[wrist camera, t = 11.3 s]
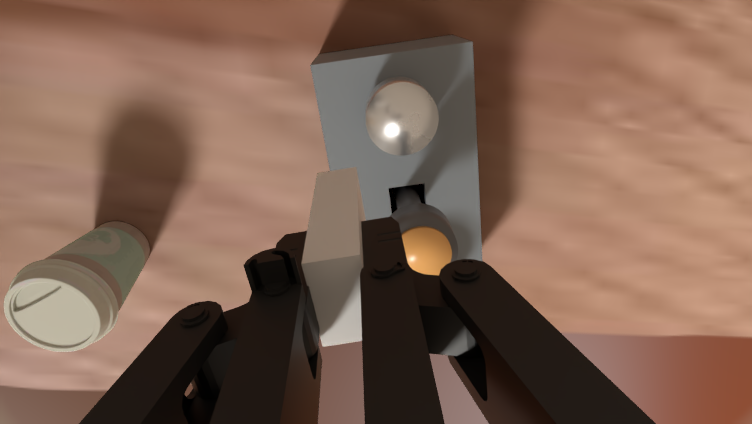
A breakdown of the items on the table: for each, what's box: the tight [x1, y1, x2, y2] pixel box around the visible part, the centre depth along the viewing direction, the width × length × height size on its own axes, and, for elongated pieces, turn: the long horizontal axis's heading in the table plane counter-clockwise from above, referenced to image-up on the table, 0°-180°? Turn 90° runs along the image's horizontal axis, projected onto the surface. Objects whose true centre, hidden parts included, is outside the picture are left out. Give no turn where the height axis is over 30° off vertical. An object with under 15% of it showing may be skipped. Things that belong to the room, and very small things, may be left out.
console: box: [310, 35, 482, 261], centre depth 42 cm, size 24×12×8 cm, turn 8°
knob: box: [365, 76, 439, 156], centre depth 37 cm, size 5×5×12 cm
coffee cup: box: [4, 221, 150, 352], centre depth 43 cm, size 8×8×12 cm
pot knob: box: [389, 185, 458, 275], centre depth 36 cm, size 5×5×12 cm
